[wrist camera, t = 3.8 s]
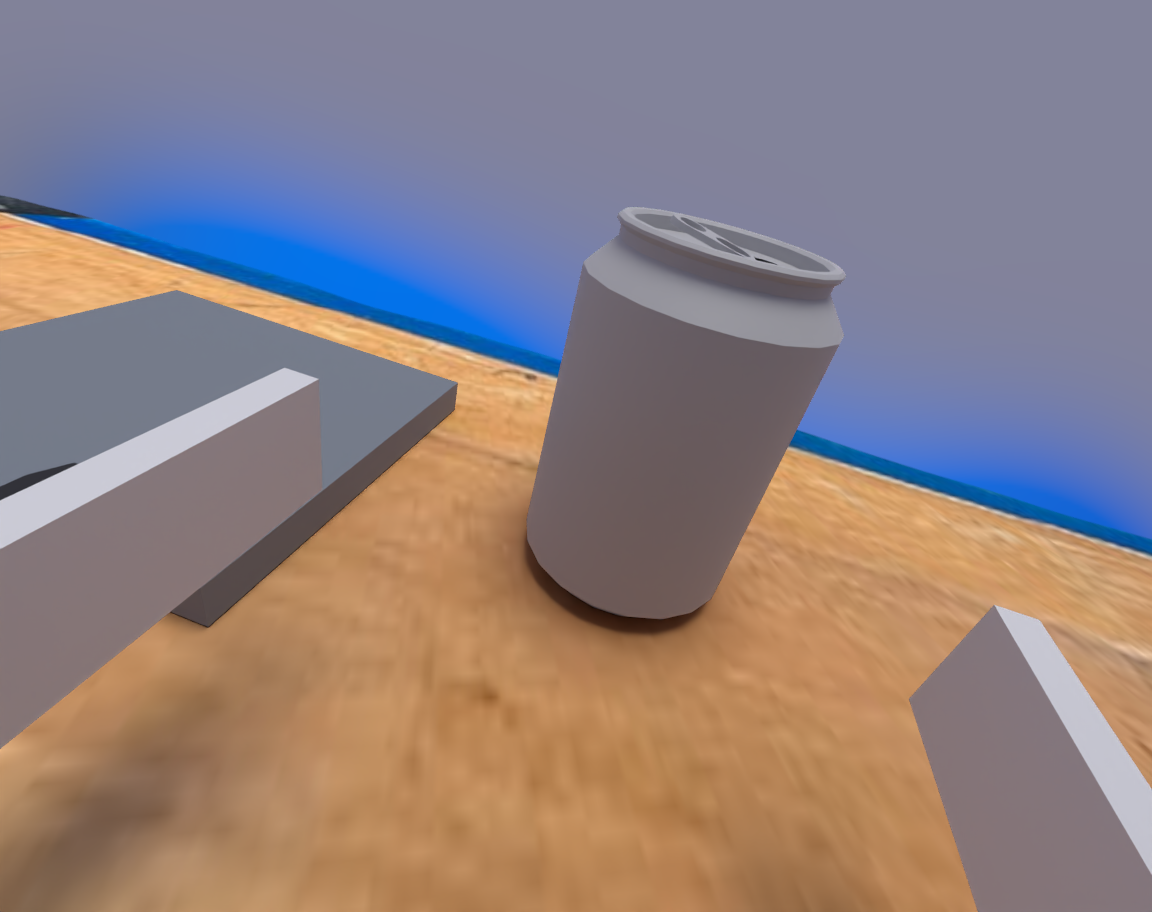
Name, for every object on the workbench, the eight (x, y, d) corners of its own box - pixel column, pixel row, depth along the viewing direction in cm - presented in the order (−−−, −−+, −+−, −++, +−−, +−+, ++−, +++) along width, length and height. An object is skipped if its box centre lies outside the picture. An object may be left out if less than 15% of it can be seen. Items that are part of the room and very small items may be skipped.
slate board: (454, 409, 27) (457, 382, 27) (208, 626, 15) (200, 588, 14) (181, 317, 29) (176, 290, 28) (-252, 441, 16) (-282, 397, 16)
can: (694, 674, 17) (896, 299, 11) (484, 577, 18) (554, 197, 12) (724, 540, 23) (862, 254, 17) (565, 475, 25) (639, 190, 18)
